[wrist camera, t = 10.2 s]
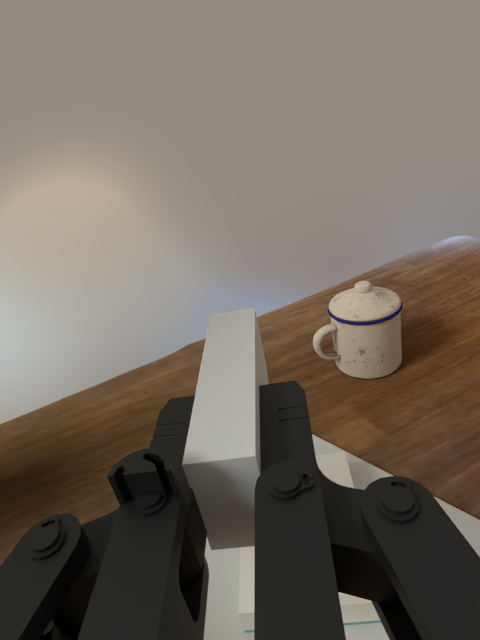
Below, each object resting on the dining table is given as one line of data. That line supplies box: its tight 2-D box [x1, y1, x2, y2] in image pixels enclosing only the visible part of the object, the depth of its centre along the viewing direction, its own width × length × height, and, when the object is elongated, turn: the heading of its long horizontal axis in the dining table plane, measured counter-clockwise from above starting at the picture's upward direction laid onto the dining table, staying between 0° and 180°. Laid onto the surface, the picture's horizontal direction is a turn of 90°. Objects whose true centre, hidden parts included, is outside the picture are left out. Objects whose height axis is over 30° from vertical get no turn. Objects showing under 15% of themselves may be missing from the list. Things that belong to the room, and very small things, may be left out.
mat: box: [204, 434, 480, 640], centre depth 38 cm, size 24×23×1 cm
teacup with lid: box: [313, 281, 402, 379], centre depth 57 cm, size 12×9×12 cm
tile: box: [238, 452, 382, 633], centre depth 37 cm, size 2×10×14 cm
